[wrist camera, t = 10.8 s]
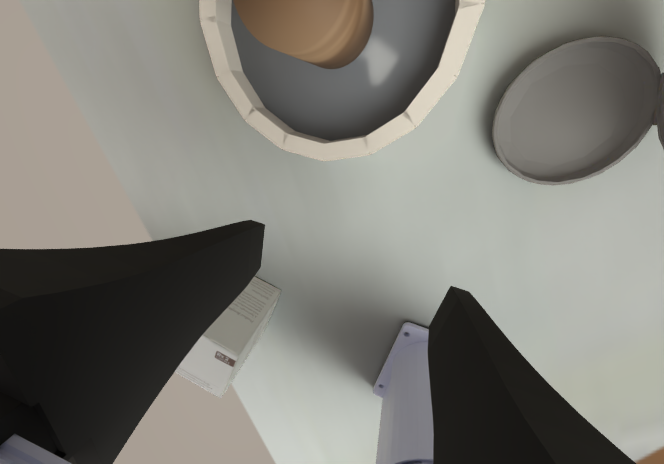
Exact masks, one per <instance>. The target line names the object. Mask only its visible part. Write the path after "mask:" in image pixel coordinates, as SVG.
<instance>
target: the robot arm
mask: <svg viewBox="0 0 664 464" xmlns="http://www.w3.org/2000/svg"><path fill="white" fill-rule="evenodd" d="M264 229H265V224H262V223H259V222H255V221H252V220H247V221H242V222H238V223H233V224H229V225H225V226H221V227H218V228H214V229H210V230H206V231H202V232H197V233H193V234H188V235H183V236H179V237H174V238H169V239H164V240H158V241H151V242H144V243H137V244H129V245H117V246H106V247H94V248H75V249H26V250H25V249H0V464H113V462H114V460H115V459H116V457H117V456H118V454H119V453H120V451H121V450H122V448H123V447H124V445H125V443H126V442H127V440H128V439H129V437H130V436H131V434H132V433H133V431H134V430H135V428H136V426H137V425H138V423H139V422H140V420H141V419H142V417H143V416H144V414H145V413H146V411H147V410H148V409H149V407H150V406H151V404H152V403H153V401H154V400H155V398H156V397H157V396H158V394H159V392H160V391H161V390H162V388H163V387H164V385H165V384H166V383H167V381H168V380H169V378H170V377H171V376H172V374H173V373H174V372H175V370H176V369H177V368H178V366H179V365H180V363H181V362H182V361H183V359H184V358H185V357H186V355H187V354H188V353H189V351H190V350H191V349H192V348H193V346H194V345H195V344H196V342H197V341H198V340H199V338H200V337H201V336H202V335H203V334H204V333H205V331H206V330H207V329H208V328H209V327H210V326H211V325H212V324H213V323H214V322H215V320H216V319H217V318H218V317H219V316H220V315H221V314H222V313H223V312H224V311H225V310H226V309H227V308H228V307H229V305H230V304H231V303H232V302H233V301H234V300H235V299H236V298H237V297H238V296H239V295H240V294H241V292H242V291H243V290H244V289H245V288H246V287H247V286H248V284H249V283H250V282H251V280H252V279H253V277H254V276H255V274H256V273H257V271H258V270H259V268H260V267H261V258H262V248H263V238H264ZM405 332H408V334H406V333H405ZM373 393H374V394H375V395H377V396H379V397H382V398H383V399H382V409H381V418H380V428H379V437H378V447H377V456H376V464H636V463H635V462H634V461H632V460H631V459H630V458H629V457H628V456H627V455H625V454H624V453H623V452H622V451H621V450H620V449H618V448H617V447H616V446H615V445H614V444H613V443H612V442H610V441H609V440H608V439H607V438H606V437H605V436H604V435H603V434H601V433H600V432H599V431H598V430H597V429H596V428H595V427H593V426H592V425H591V424H590V423H589V422H588V421H587V420H586V419H585V418H584V417H582V416H581V415H580V414H579V413H578V412H577V411H576V410H575V409H574V408H573V407H572V406H571V405H570V404H569V403H568V402H567V401H566V400H565V399H564V398H563V397H562V396H561V395H560V394H559V393H558V392H557V391H555V390H554V389H553V388H552V387H551V386H550V385H549V384H548V383H547V382H546V381H545V379H544V378H543V377H542V376H541V375H540V374H539V373H538V372H537V371H536V370H535V369H534V368H533V367H532V366H531V365H530V363H529V362H528V361H527V360H526V359H525V358H524V357H523V356H522V355H521V353H520V352H519V351H518V350H517V349H516V348H515V347H514V345H513V344H512V343H511V342H510V341H509V340H508V338H507V337H506V336H505V335H504V334H503V332H502V331H501V330H500V329H499V328H498V326H497V325H496V324H495V323H494V321H493V320H492V319H491V318H490V316H489V315H488V314H487V313H486V311H485V310H484V309H483V308H482V306H481V305H480V304H479V303H478V302H477V300H476V299H475V298H474V297H473V296H472V295H471V294H470V293H469V292H468V291H465V290H462V289H459V288H456V287H453V286H450V288H449V290H448V292H447V294H446V296H445V298H444V300H443V301H442V303H441V305H440V307H439V309H438V311H437V313H436V314H435V316H434V318H433V320H432V322H431V324H430V326H429V329H427V328H424V327H421V326H418V325H415V324H412V323H409V322H408V323H404V324H403V326H402V328H401V330H400V332H399V334H398V336H397V338H396V340H395V343H394V345H393V347H392V349H391V351H390V353H389V355H388V357H387V360H386V362H385V364H384V366H383V368H382V370H381V372H380V375H379V377H378V379H377V381H376V383H375V385H374V388H373Z"/></svg>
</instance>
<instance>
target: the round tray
mask: <svg viewBox="0 0 664 464" xmlns="http://www.w3.org/2000/svg"><path fill="white" fill-rule="evenodd" d="M372 2H373V9H374V19H373V27H372V32H371V35H370V38H369V40H368V43H367V45H366V46H365V48H364V50H363V51H362V53H361V54H360V55H359V56H358V57H357V58H356V59H355V60H354V61H353V62H351V63H350V64H348V65H346V66H344V67H342V68H338V69H324V68H321V67H318V66H316V65H313V64H311V63H308V62H305V61H303V60H300V59H298V58H295V57H292V56H290V55H287V54H285V53H282V52H280V51H277V50H274V49H272V48H270V47H268V46H266V45H264V44H263V43H261V42H260V41H258V40H257V39H256V38H255V37H254V36H253V35H252V34H251V33H250V32H249V30H248V29H247V28H246V26H245V25H244V23H243V22H242V20H241V18H240V16H239V14H238V12H237V9H236V7H235V4H234V1H233V0H199V19H201V21H200V23H201V27H202V30H203V33H204V37H205V40H206V44H207V47H208V50H209V54H210V57H211V61H212V64H213V67H214V71H215V74H216V77H217V79H218V81H219V82H220V84H221V85H222V87H223V88H224V90H225V91H226V93H227V94H228V96H229V97H230V99H231V101H232V102H233V104H234V105H235V107H236V108H237V110H238V111H239V113H240V114H241V116H242V117H243V119H244V120H246V121H245V122H247V123H248V124H249V125H251V126H252V127H253V128H254V129H256V130H257V131H258V132H260V133H261V134H262V135H263V136H265V137H266V138H267V139H269V140H270V141H271V142H272V143H274V144H275V145H276V146H278V147H279V148H280V149H282V150H285V151H289V152H292V153H296V154H299V155H303V156H306V157H310V158H313V159H317V160H320V161H331V160H338V159H346V158H353V157H360V156H367V155H370V154H373V153H375V152H376V151H378V150H380V149H381V148H383V147H385V146H386V145H388V144H390V143H391V142H393V141H395V140H397V139H398V138H400V137H402V136H403V135H405V134H407V133H408V132H410V131H412V130H413V129H415V128H416V127H417V126H418V125H419V124H420V123H421V121H422V120H423V119H424V118H425V117H426V115H427V114H428V113H429V112H430V110H431V109H432V108H433V107H434V105H435V104H436V103H437V102H438V101H439V99H440V98H441V97H442V96H443V94H444V93H445V92H446V91H447V89H448V88H449V87H450V86H451V85H452V83H453V82H454V81H455V80H456V78H457V76H458V75H459V72H460V69H461V67H462V64H463V61H464V59H465V56H466V53H467V51H468V48H469V45H470V43H471V40H472V37H473V35H474V32H475V29H476V27H477V24H478V21H479V19H480V16H481V13H482V11H483V8H484V5H485V4H484V3H485V0H372Z"/></svg>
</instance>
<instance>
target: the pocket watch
mask: <svg viewBox="0 0 664 464" xmlns="http://www.w3.org/2000/svg"><path fill="white" fill-rule="evenodd" d="M652 125H657V127H658V136H659V140H660V142H661V144H662V146H663V149H664V73H661V74H660V70H659V67H658V66H657V64H656V63H655V61H654V60H653V58H652V57H651V56H650V54H649V53H648V51H646V50H645V49H643V48H642V47H640V46H639V45H637V44H635V43H633V42H630V41H628V40H625V39H622V38H614V37H606V36H598V37H591V38H584V39H578V40H575V41H571V42H568V43H565V44H563V45H561V46H559V47H558V48H556V49H554V50H551V51H549V52H548V53H546V54H544V55H542V56H541V57H539V58H537V59H535V60H534V61H533V62H532V63H530V64H529V65H528V66H527V67H526V68H525V69H524V70H523V71H522V72H521V73H520V74H519V75H518V76H517V77H516V78H515V79H514V80H513V81H512V82H511V83H510V84H509V86H508V88H507V90H506V91H505V93H504V94H503V96H502V98H501V99H500V102H499V104H498V107H497V109H496V111H495V115H494V120H493V125H492V138H493V143H494V148H495V151H496V155H497V156H498V158H499V159H500V160H501V162H502V163H503V164H504V165H505V166H506V168H507V169H508V170H509V171H510V172H512V173H513V174H515V175H517V176H518V177H520V178H522V179H524V180H526V181H529V182H533V183H537V184H544V185H560V184H570V183H574V182H578V181H581V180H585V179H588V178H591V177H593V176H596V175H598V174H601V173H602V172H604V171H606V170H607V169H609V168H611V167H612V166H614V165H615V164H617V163H619V162H620V161H621V160H622V159H623V158H625V157H626V156H627V155H628V154H629V153H630V152H631V151H632V150H634V149H635V148H636V147H637V146H638V144H639V143H640V142H641V140H642V139H643V138H644V136H645V135H646V134H647V132H648V131H649V129H650V128H651V126H652Z"/></svg>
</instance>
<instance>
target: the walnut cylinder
mask: <svg viewBox="0 0 664 464" xmlns="http://www.w3.org/2000/svg"><path fill="white" fill-rule="evenodd" d="M233 1H234V4H235V7H236V9H237V12H238V14H239V16H240V18H241V20H242V22H243V23H244V25H245V26H246V28H247V29H248V30H249V32H250V33H251V34H252V35H253V36H254V37H255V38H256V39H257V40H258V41H260V42H261V43H263V44H264V45H266V46H268V47H270V48H272V49H274V50H277V51H280V52H282V53H285V54H287V55H290V56H292V57H295V58H298V59H300V60H303V61H305V62H308V63H311V64H313V65H316V66H318V67H321V68H324V69H338V68H342V67H344V66H346V65H348V64H350V63H351V62H353V61H354V60H355V59H356V58H357V57H358V56H359V55H360V54H361V53H362V51H363V50H364V48H365V46H366V45H367V43H368V40H369V38H370V35H371V32H372V27H373V19H374V9H373V2H372V0H233Z"/></svg>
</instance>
